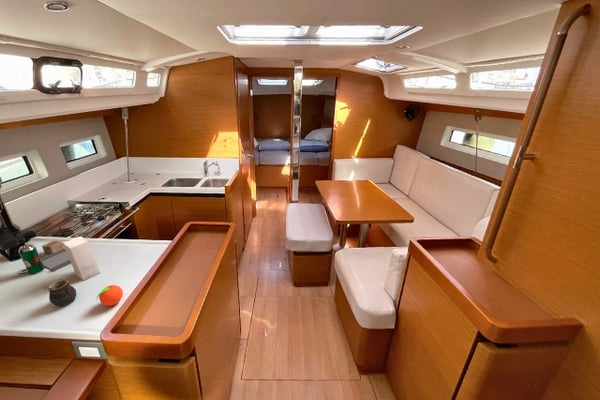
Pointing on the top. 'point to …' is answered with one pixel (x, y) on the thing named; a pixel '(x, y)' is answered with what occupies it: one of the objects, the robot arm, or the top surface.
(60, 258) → the tray
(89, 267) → the skincare box
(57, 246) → the walnut block
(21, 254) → the soda can
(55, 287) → the mate gourd
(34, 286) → the top surface
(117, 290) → the clementine
